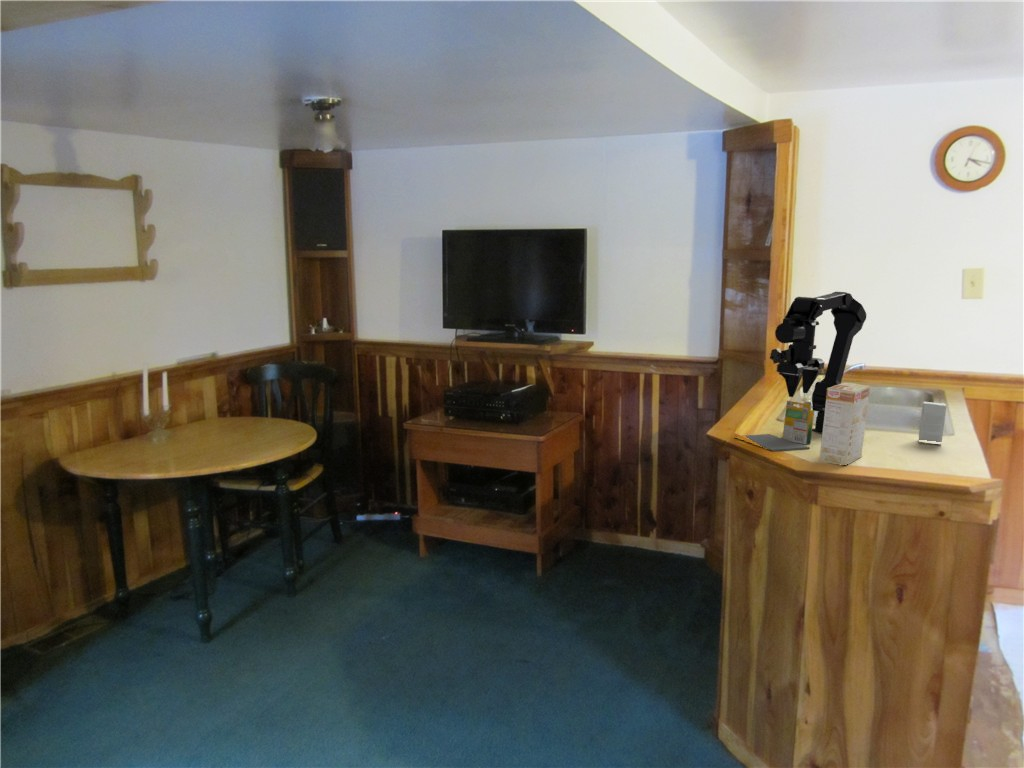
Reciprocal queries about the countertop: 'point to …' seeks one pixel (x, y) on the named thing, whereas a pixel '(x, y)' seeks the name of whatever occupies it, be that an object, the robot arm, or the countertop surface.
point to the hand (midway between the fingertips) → (798, 395)
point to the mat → (775, 443)
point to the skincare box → (932, 421)
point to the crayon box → (798, 423)
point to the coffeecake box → (844, 423)
